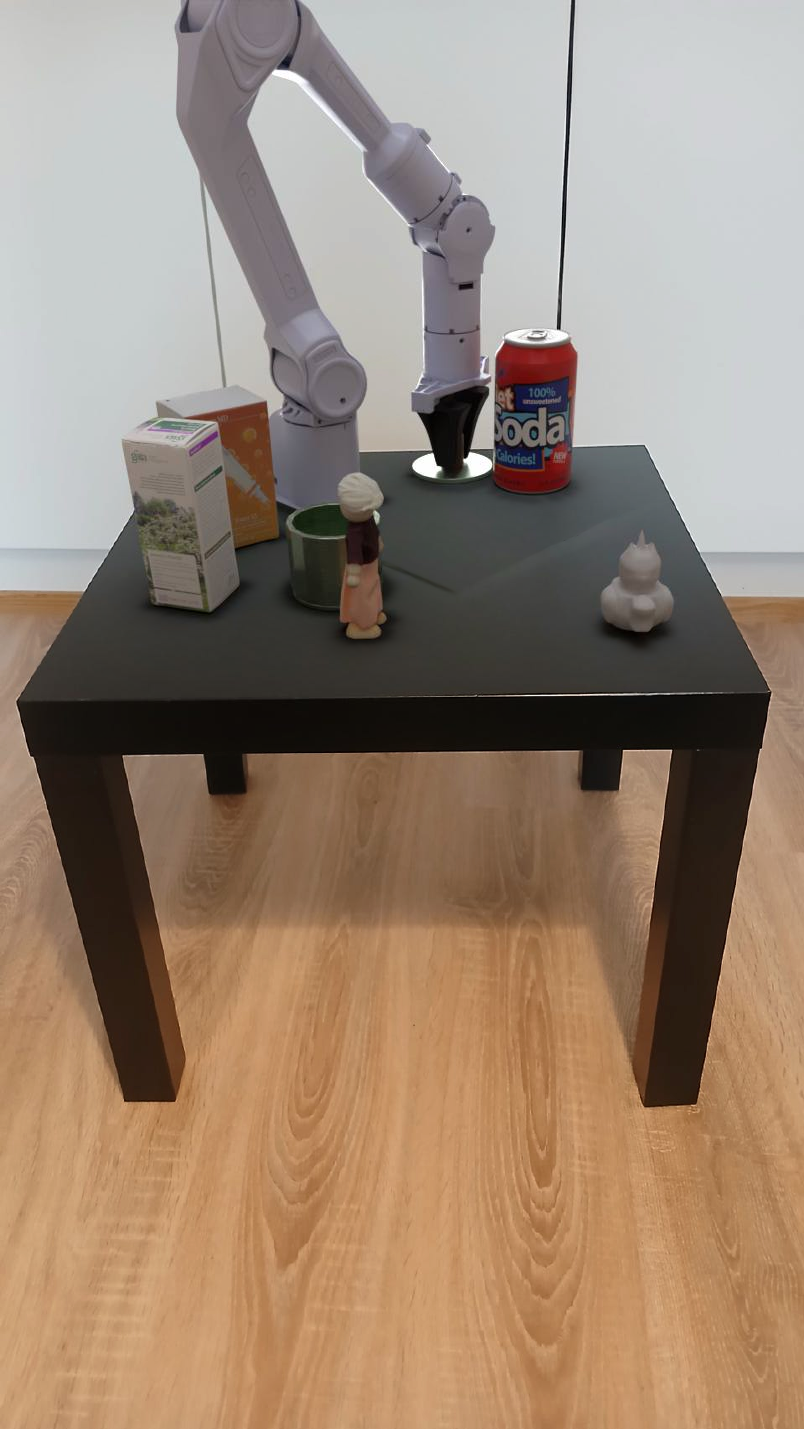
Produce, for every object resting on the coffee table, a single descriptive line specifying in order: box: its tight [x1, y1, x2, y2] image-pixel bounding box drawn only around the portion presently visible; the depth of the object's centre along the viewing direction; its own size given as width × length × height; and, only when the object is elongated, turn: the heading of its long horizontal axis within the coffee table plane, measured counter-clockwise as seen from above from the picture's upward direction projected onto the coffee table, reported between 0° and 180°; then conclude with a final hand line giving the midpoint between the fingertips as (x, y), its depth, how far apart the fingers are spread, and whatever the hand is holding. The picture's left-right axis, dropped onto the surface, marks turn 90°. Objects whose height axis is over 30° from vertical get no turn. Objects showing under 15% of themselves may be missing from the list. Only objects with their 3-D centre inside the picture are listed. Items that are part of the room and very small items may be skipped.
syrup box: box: [120, 416, 240, 613], centre depth 85 cm, size 6×6×14 cm
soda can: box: [492, 327, 579, 495], centre depth 104 cm, size 8×8×15 cm
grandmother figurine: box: [338, 472, 387, 640], centre depth 80 cm, size 8×4×13 cm, turn 178°
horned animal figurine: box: [600, 529, 675, 633], centre depth 80 cm, size 5×7×8 cm
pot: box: [285, 502, 384, 612], centre depth 88 cm, size 8×8×6 cm
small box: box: [155, 384, 280, 549], centre depth 96 cm, size 8×6×13 cm
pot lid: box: [411, 430, 493, 485], centre depth 110 cm, size 8×8×5 cm
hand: (452, 461), depth 111 cm, fingers closed on pot lid, 2 cm apart
